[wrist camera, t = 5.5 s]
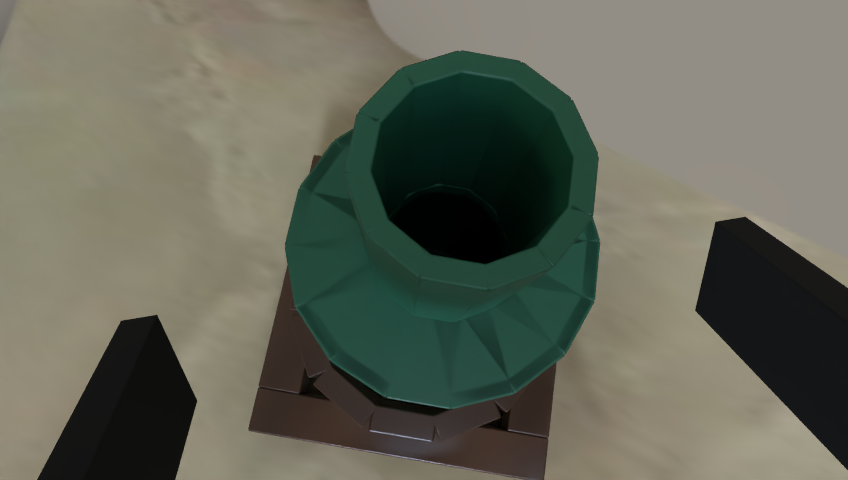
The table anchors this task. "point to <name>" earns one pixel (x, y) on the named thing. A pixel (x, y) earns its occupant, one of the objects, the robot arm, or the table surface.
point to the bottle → (450, 233)
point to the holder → (393, 410)
